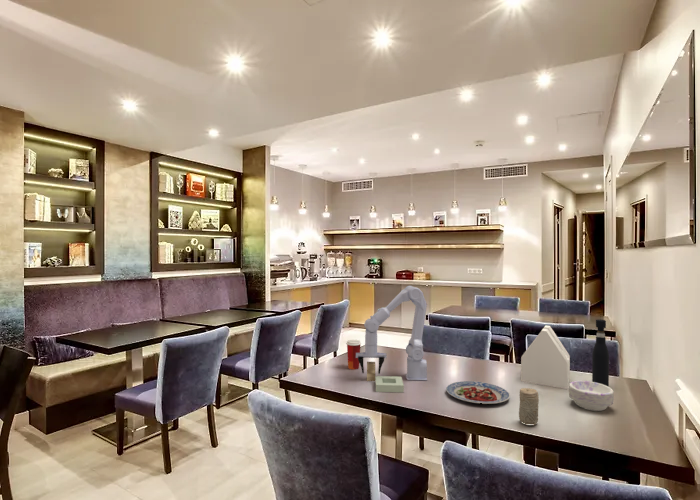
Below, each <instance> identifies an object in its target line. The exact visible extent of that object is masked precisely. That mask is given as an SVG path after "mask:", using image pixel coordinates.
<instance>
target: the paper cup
mask: <svg viewBox="0 0 700 500" xmlns="http://www.w3.org/2000/svg"><path fill="white" fill-rule="evenodd" d="M345 344H346V348H347V368H348V369H349V370H353V371H354V370H359V369H360V363H359V361H358V358H356V353H361V345H362V343H361V340H360V339H359V340H357V339H349V340H348V339H347V341H346V343H345Z"/></svg>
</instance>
